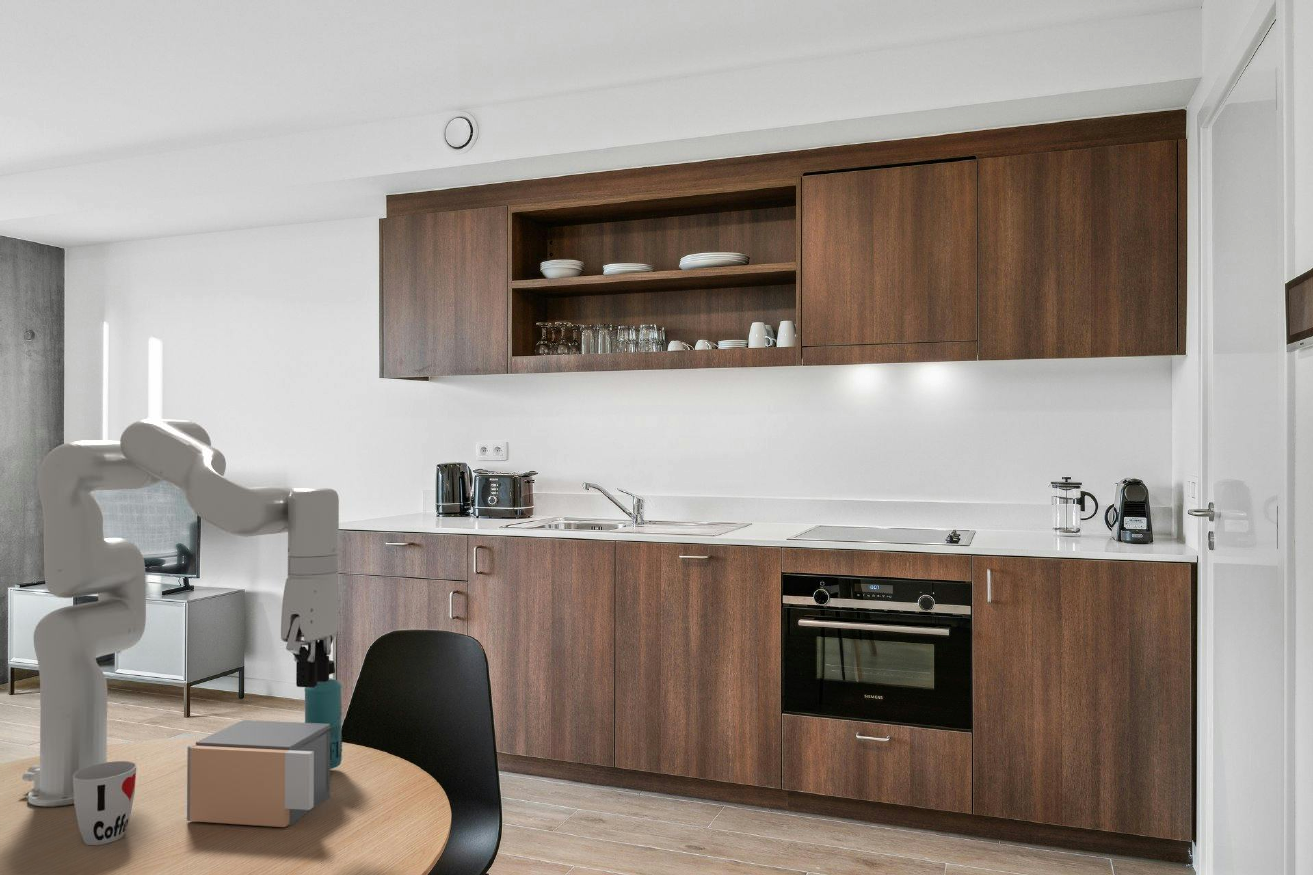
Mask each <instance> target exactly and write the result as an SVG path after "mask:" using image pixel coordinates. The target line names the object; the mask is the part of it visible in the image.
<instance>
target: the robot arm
mask: <svg viewBox="0 0 1313 875" xmlns="http://www.w3.org/2000/svg"><path fill="white" fill-rule="evenodd" d="M119 439H120V441H119V440H100V439H98V440H94V439H92V440H91V439H90V440H77V441H69V442H66V443H63V444H60V445H57V447H56V446H55V448H52V450H51V451H50V452H48V454H46V456H45V457H44V459H43V460H42V462H41V464H40V467H39V470H38V475H37V488H38V494H39V499H40V504H41V509H42V510H41V511H42V514H43V515H42V516H43V568H44V569H43V570H44V571H43V573H44V582H45V586H46V590H48V592H49V593H50V594H51V595H52V596H55V597H57V598H62V599H63V598H64V599H71V598H80V597H86V596H93V595H97V599H98V600H97V601H91V602H85V603H84V602H83V603H80V604H79V603H78V604H73V605H68V606H64V607H61V608H58V609H55V610H53V611H50V612H49V613H47V614H46V615H44V616H43V617H42V618H40V620H39V621H38V623H37V624H36V625H35V628H34V632H33V646H34V651H35V656H36V660H37V664H38V665H37V666H38V672H39V688H40V689H39V690H40V696H39V702H40V703H39V704H40V709H39V710H40V716H39V717H40V719H39V720H40V723H39V724H40V725H39V726H40V728H39V733H40V734H39V764H32V765H30V766H29V768H28V769H27V771H25V772H24V773H23V775H22V781H25V782H27V781H28V782H34V783H33V788H32V789H31V790H30V791H29V792H28V794H27V802H28V803H29V804H30V805H33V806H37V807H60V806H69V805H74V790H73V774H74V773H75V772H77V771H78V770H80V769H83V768H86V767H89V766H92V765H96V764H101V763H107V759H108V756H107V755H108V753H107V752H108V748H107V747H108V683H107V682H108V681H107V678H106V676H105V674H104V672H103V670H102V669H101V668H100V665H99V664H98V662H97V658H100V657H103V656H107V655H111V654H115V653H119V652H122V651H126V650H128V649H131V648H132V647H134V646H136V644H138V642H139V641H140V640H141V638H142V637H143V635H144V632H145V629H146V623H147V622H146V621H147V620H146V619H147V597H146V594H147V593H146V592H147V591H146V585H147V584H146V579H147V578H146V566H145V559H144V556H143V554H142V552H141V550H140V549H139V547H138V545H136V544H135V543H134V542H132V541H131V540H129V539H128V538H123V537H107V538H106V537H104V517H103V513H102V510H101V508H100V506H99V503H98V502H97V500H96V499H95V497H94V496H93V495H92V494H91V492H93V491H94V492H95V491H115V490H137V489H139V490H140V489H144V488H148V487H150V486H155V485H156V484H159V483H163V482H165V483H166V484H168V485H169V486H172V487H174V488H175V489H177V490H179V491H180V492H182V493H183V494H185V500H186V502H187V503H188V505H189V507H190V509H191V510H192V511H193V512H194V514H195V515H197V516H198V517H199V518H201V519H202V520H204V521H206V522H208V523H209V524H211V525H212V526H214V527H216V528H217V529H220V530H222V531H224V532H226V533H228V534H231V535H233V536H238V537H245V538H246V537H256V536H265V535H275V534H282V533H287V578H286V580H285V585H284V587H283V594H282V595H283V597H282V605H281V617H280V618H281V619H280V640H281V641H283V642H284V643H286V647H285V649H286V651H288V652H289V653H292V654H293V656H294V658H293V659H294V662H295V664H296V665H295V666H296V667H295V668H296V670H295V674H296V676H295V677H296V678H295V680H296V682H295V685H296V687H298V688H305V687H311V688H313V687H316V686H317V682H326V681H328V680H329V678H330V675H329V660H330V655H331V653H332V644H333V641H334V639H335V638H336V636H337V635H338V631H339V629H340V625H341V624H340V623H341V600H340V598H341V597H340V587H339V577H338V576H339V570H340V568H339V567H340V566H339V562H340V560H339V559H340V558H339V554H340V553H339V551H340V550H339V542H340V541H339V540H340V539H339V538H340V534H339V533H340V529H339V526H340V523H339V522H340V521H339V520H340V519H339V517H340V514H339V513H340V504H339V503H340V497H339V494H338V492H337V491H336V490H335V489H333V488H329V487H311V488H304V487H303V488H298V487H292V486H259V487H257V486H255V487H254V486H253V487H245V486H243V485H240V484H237V483H236V482H234V481H233V480H230V479H229V478H227V477H225V476H224V475H225V472H226V468H227V462H226V457H225V455H224V454H223V452H221V451H220V450H219V449H217V448H215V447H213V446H212V441H211V438H210V435H209V433H208V432H207V431H206V429H204V428H203V427H202V425H199V424H198V423H196V422H193V421H191V420H185V419H184V420H181V419H169V418H167V419H165V418H145V419H140V420H137V421H135V422H133V423H131V424H130V425H128V426H127V427H126V428H125V429H124V430H123V432H122V434H121V436H120V438H119ZM302 638H303V640H302ZM306 646H307V647H306Z"/></svg>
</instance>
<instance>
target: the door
mask: <svg viewBox="0 0 1313 875" xmlns="http://www.w3.org/2000/svg"><path fill="white" fill-rule="evenodd" d="M186 752H187V753H186V754H187V757H186V758H187V760H186V763H187V765H186V770H187V771H186V773H187V774H186V821H188V822H200V823H214V824H215V823H216V824H231V825H248V826H262V827H276V828H278V827H280V828H285V827H287V825H288V824H289V809H302V810H310V809H311V808H313V807H314V751H295V750H275V749H255V748H234V747H214V746H196V745H189V746H187V751H186ZM314 808H315V807H314ZM314 808H313V809H314ZM310 811H311V810H310Z"/></svg>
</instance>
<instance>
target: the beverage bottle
mask: <svg viewBox="0 0 1313 875" xmlns="http://www.w3.org/2000/svg"><path fill="white" fill-rule="evenodd" d="M335 673H336V667H335V661H334V660H331V659H329V676H330V675H334V674H335ZM342 708H343V703H342V683H340V682H339V681H338V680H337V679H336V678H334V677H329V680H328V681H326V682H317V686H316V687H313V688H311V687H304V723H321V724H330V770H331V769H332V770H333V769H335V768H338V767H339V766H340V765H341V763H342V759H343V754H342V753H343V738H342V734H343V733H342V730H343V728H342V718H343V716H342V715H343V714H342V713H343V712H342V711H343V709H342Z"/></svg>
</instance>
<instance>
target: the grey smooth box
mask: <svg viewBox="0 0 1313 875" xmlns="http://www.w3.org/2000/svg"><path fill="white" fill-rule="evenodd" d="M195 746H214V747H234V748H255V749H275V750H295V751H314V807H313V808H311V809H310V810H302V809H289V824H288V825H287V826H291V825H292V824H294V823H295V822H297V821H299V819H300V818H302V817H303V816H305V815H306V814H308V812H310V811H312V810H313V809H314V808H316V807H317V806H319V805H321V804H322V803H323V802H324V801H325V800H327V799H328V798H330V797H331V769H330V724H321V723H305V722H298V721H297V722H294V721H272V720H271V721H270V720H251V719H250V720H249V719H248V720H247V719H242V720H240V721H238V722H237V723H234V724H231V725H229V726H227V727H225V728H223V729H221V730H218V731H216V732H215V733H213V734H210V735H208V736H206V737H204V738H202V739H200V740H198V741H196V742H195ZM287 826H286V827H287Z"/></svg>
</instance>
